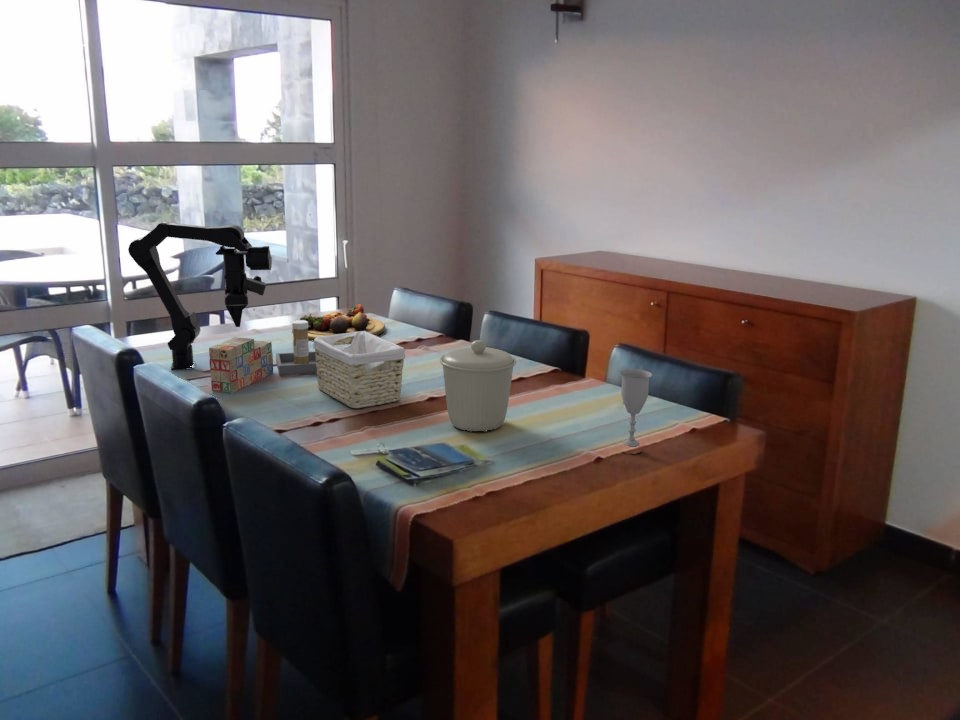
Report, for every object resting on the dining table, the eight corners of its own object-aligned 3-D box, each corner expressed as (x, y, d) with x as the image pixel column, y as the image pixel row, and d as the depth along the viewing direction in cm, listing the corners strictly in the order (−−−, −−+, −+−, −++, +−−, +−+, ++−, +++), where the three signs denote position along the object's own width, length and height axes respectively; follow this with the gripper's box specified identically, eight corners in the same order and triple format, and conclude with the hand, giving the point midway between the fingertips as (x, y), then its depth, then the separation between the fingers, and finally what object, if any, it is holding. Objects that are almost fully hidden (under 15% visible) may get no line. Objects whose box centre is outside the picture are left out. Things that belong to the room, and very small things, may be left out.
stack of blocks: (254, 370, 246) (252, 329, 243) (273, 372, 244) (271, 331, 241) (211, 391, 226) (208, 346, 223) (231, 393, 225) (229, 349, 221)
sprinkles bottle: (294, 363, 251) (293, 319, 247) (310, 363, 252) (308, 319, 248) (292, 368, 247) (291, 323, 243) (308, 368, 247) (307, 323, 244)
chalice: (611, 444, 193) (616, 368, 188) (641, 444, 194) (646, 368, 189) (619, 456, 186) (624, 378, 181) (649, 456, 187) (656, 378, 182)
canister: (442, 412, 213) (442, 330, 208) (514, 414, 213) (516, 332, 207) (436, 437, 196) (436, 349, 190) (514, 439, 195) (517, 351, 190)
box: (276, 363, 254) (276, 353, 253) (323, 360, 258) (323, 351, 257) (279, 376, 241) (278, 365, 240) (328, 373, 245) (328, 363, 244)
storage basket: (312, 388, 230) (310, 335, 226) (365, 379, 239) (365, 329, 235) (351, 413, 211) (349, 356, 207) (407, 402, 220) (407, 347, 216)
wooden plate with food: (341, 317, 317) (340, 296, 314) (404, 330, 298) (403, 307, 296) (273, 334, 292) (271, 311, 290) (336, 349, 274) (335, 324, 271)
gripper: (264, 274, 236) (267, 329, 240) (262, 264, 253) (265, 315, 257) (223, 275, 233) (226, 331, 237) (223, 265, 250) (226, 317, 254)
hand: (237, 323), depth 246 cm, fingers open, 9 cm apart
